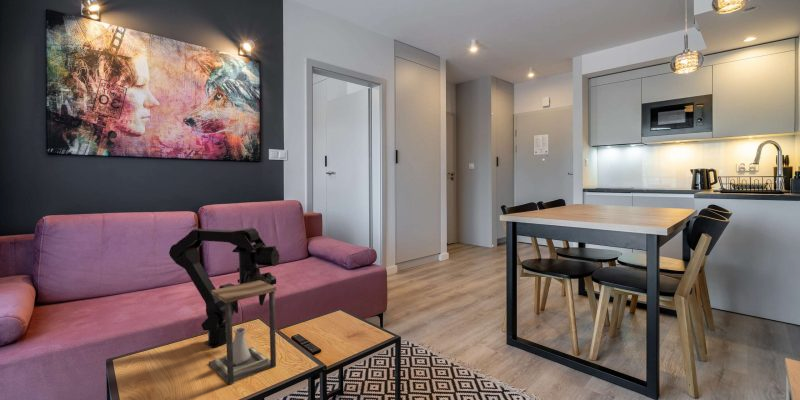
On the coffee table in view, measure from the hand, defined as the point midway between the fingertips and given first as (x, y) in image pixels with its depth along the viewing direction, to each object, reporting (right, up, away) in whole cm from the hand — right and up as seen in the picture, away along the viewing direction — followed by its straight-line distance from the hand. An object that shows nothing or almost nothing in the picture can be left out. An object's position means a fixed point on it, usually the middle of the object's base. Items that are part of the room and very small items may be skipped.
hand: (249, 308), depth 127 cm
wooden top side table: (+3, -14, -12) cm, 19 cm away
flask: (+1, -13, -11) cm, 17 cm away
